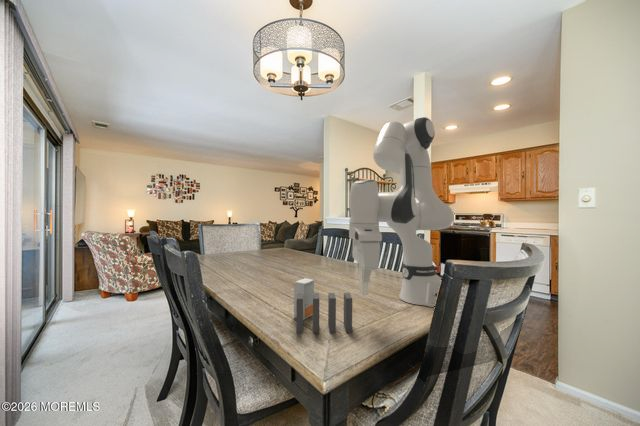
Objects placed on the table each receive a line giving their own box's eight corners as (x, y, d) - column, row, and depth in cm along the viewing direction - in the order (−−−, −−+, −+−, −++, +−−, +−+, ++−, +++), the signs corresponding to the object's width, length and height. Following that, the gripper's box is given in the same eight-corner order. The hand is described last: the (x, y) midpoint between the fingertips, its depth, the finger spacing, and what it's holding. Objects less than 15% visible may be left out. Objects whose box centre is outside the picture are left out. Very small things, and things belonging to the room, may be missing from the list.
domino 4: (349, 324, 79) (349, 292, 79) (352, 332, 74) (352, 298, 74) (343, 325, 79) (343, 292, 79) (345, 332, 74) (346, 298, 74)
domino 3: (334, 325, 79) (334, 293, 79) (335, 332, 74) (335, 298, 74) (328, 325, 79) (328, 293, 79) (329, 332, 74) (329, 298, 74)
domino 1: (303, 325, 79) (303, 293, 79) (302, 333, 74) (302, 298, 74) (297, 325, 79) (297, 293, 78) (296, 333, 74) (296, 298, 74)
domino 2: (318, 325, 79) (318, 293, 79) (319, 333, 74) (319, 298, 74) (312, 325, 79) (312, 293, 79) (313, 333, 74) (313, 298, 74)
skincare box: (303, 320, 82) (304, 283, 82) (293, 317, 84) (293, 281, 84) (314, 314, 87) (314, 279, 87) (304, 311, 89) (304, 277, 89)
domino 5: (364, 289, 79) (364, 257, 79) (368, 294, 74) (368, 260, 74) (358, 290, 79) (358, 257, 79) (362, 295, 74) (362, 260, 74)
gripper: (348, 230, 87) (347, 271, 87) (360, 235, 67) (359, 288, 67) (366, 230, 87) (366, 271, 87) (384, 235, 67) (383, 288, 67)
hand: (363, 278), depth 77 cm, fingers closed on domino 5, 5 cm apart
